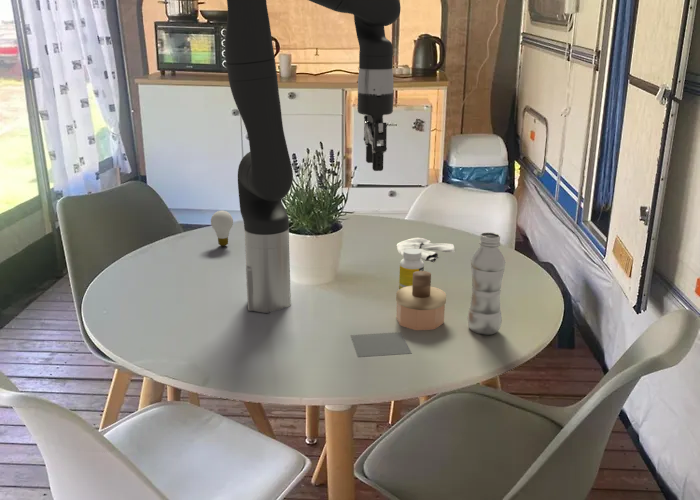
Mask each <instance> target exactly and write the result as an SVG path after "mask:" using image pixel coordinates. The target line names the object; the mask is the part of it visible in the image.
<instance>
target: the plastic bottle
mask: <svg viewBox="0 0 700 500" xmlns="http://www.w3.org/2000/svg"><path fill="white" fill-rule="evenodd" d="M478 244H479V247H478V248H477V249H476V250H475V251H474V252H473V254H472V256H471V257H470V258H471V259H470V269H471V286H472V288H471V297H470V298H471V300H470V306H469V308H468V309H469V310H468V313H467V317H466V318H467V319H466V320H467V325H468V327H469V329H470V330H471V331H472V332H473V333H475V334H479V335H486V336H487V335H489V336H490V335H493V334H496V333H498V332H499V331H500V330H501V326H502V322H503V319H502V318H503V317H502V311H501V310H502V309H501V289H502V282H503V277H504V274H505V267H506V259H505V257H504V254H503V252H502V251H501V250H500V248H499V247H500V246H501V235H500V234H499V233H495V232H482V233H481V234H480V236H479V241H478Z"/></svg>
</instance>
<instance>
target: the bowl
mask: <svg viewBox="0 0 700 500" xmlns="http://www.w3.org/2000/svg"><path fill="white" fill-rule="evenodd" d="M445 305H446V304H445ZM445 305H443V306H442V307H440V308H437V309H431V310H416V309H410V308H406V307H404V306H402V305H400V304H399V303H398V302H397V301H396V313H395V314H396V320H397V322H398V324H399V326H400V327H404V328H407V329H410V330H413V331H428V330H429V331H430V330H435V329H438V328H439V327H440V326H441V325H443V324H444V323H445V310H446V309H445V308H446V306H445Z"/></svg>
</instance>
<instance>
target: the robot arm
mask: <svg viewBox="0 0 700 500" xmlns="http://www.w3.org/2000/svg"><path fill="white" fill-rule="evenodd" d="M308 1H310V3H311V2H312V3H314V4H316V5H319V6H320V7H324V8H326V9H329V10H331V11H333V12H337V13H342V14H351V15H352V16H353V19H354V20H353V21H354V26H355V33H356V38H357V42H358V46H359V56H358V58H359V61H358V76H357V113H358V114H360V115H363V119H364V121H363V122H364V123H363V141H364V144H365V161H366V163H367V164H372V165H371V166H372V167H371V168H372V170H373V171H375V172H381V171H383V170H384V154H385V153H386V152H387V150H388V147H387V136H388V135H387V132H388V131H387V130H388V129H387V128H388V124H387V122H384V116H385V115H386V116H387V115H391V114H392V113H393V111H394V82H395V81H394V70H393V67H394V66H393V65H394V59H393V58H394V48H393V43H392V42H391V41H390V39H388V38H387V37H386V32H385V27H387V26H390V25H392V24H394V23H395V22H396V21H397V20H398V18H399V16H400V14H401V8H402V7H401V1H400V0H308ZM226 4H227V17H226V18H227V20H226V27H225V28H226V29H225V40H224V41H225V42H224V53H225V54H224V55H225V63H226V72H227V77H228V82H229V87H230V91H231V93H232V97H233V101H234V102H235V106H236V108H237V110H238V112H239V115H240V117H241V119H242V122H243V125H244V127H245V131H246V134H247V138H248V145H249V152H247V153H246V154H245V155H244V156H243V157H242V158H241V160H240V162H239V165H238V169H237V188H238V189H237V191H238V201H239V202H238V203H239V210H240V211H239V212H240V215H241V218H242V220H243V227H244V230H243V231H244V246H245V250H244V251H245V272H246V273H245V274H246V276H245V277H246V294H247V295H246V296H247V299H246V300H247V311H248V312H250V311H251V312H252V311H254V312H256V313H257V312H258V313H265V314H266V313H271V312H275V311H279V310H280V311H281V310H282V309H283V310H284V309H286V308H290V306H291V304H292V303H291V302H292V301H291V299H292V298H291V296H292V295H291V294H292V293H291V261H290V260H291V259H290V258H291V257H290V254H291V253H290V224H289V223H290V221H289V215H288V212H287V211H286V210H285V208H284V205H283V201H282V199H283V198H285V197H286V196H287V194H289V192H290V191H291V188H292V185H293V181H294V180H293V179H294V174H293V173H294V171H293V166H292V162H291V158H290V154H289V150H288V145H287V140H286V136H285V132H284V125H283V118H282V116H283V115H282V109H281V99H280V93H279V81H278V74H277V73H278V72H277V64H276V56H275V50H274V45H273V38H272V31H271V29H272V28H271V24H270V17H269V13H268V12H269V11H268V5H267V0H226Z"/></svg>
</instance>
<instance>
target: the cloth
mask: <svg viewBox="0 0 700 500" xmlns="http://www.w3.org/2000/svg"><path fill="white" fill-rule="evenodd" d="M396 248H397V252H398V254H400V255H401V256H403V253H404V250H406V249H418V250H420V251H421V258H420V259H421V260H422V261H426V260H428V261H430V262H432V263H435V260H436V259H438V256H439V253H437V252H445V253H455V252H456V251H455V246H454V244H453V243H446V242H445V243H444V242H441V243H440V242H438V243H436V242H435V243H432V242H431V240H428V239H426V238H422V237H411V238H409V239H405V240H402V241H399V242H398V243H397V244H396ZM430 250H431V251H430ZM436 251H437V252H436ZM434 259H435V260H434Z"/></svg>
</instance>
